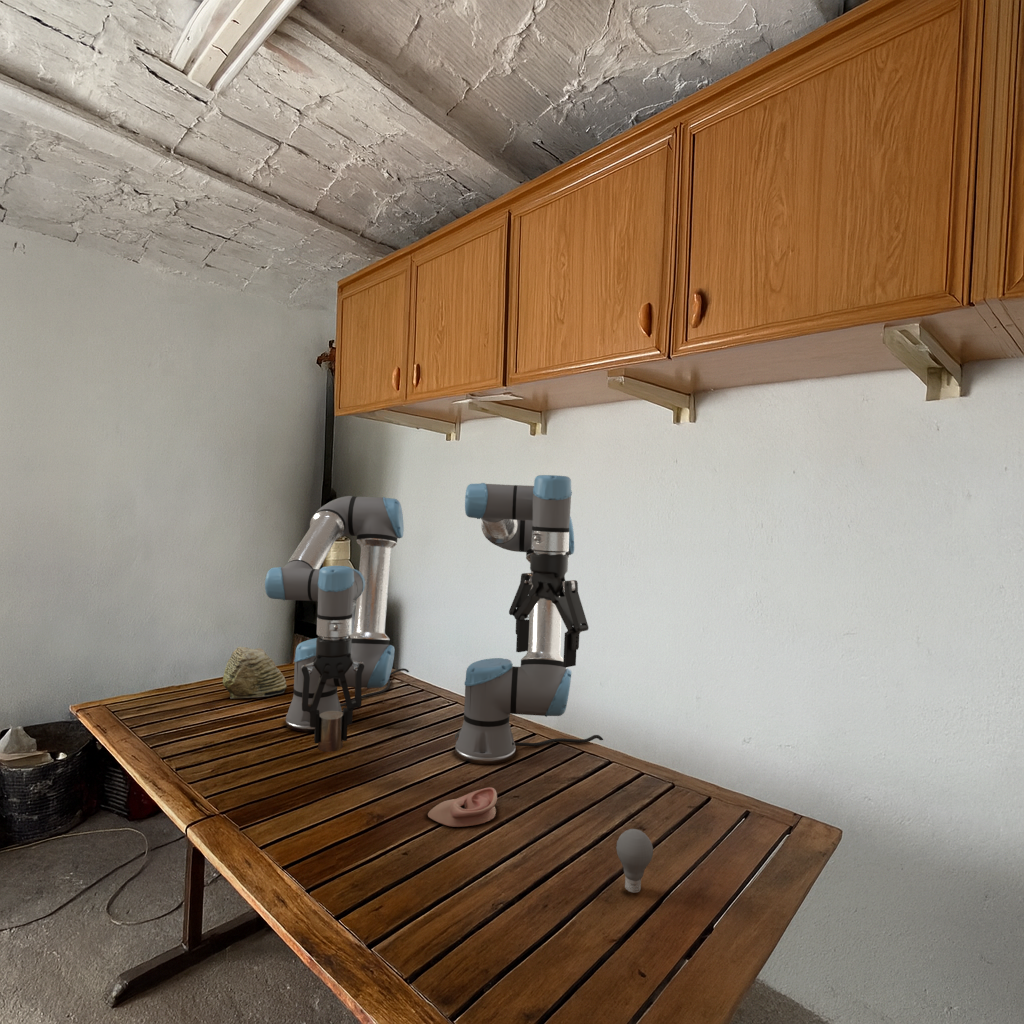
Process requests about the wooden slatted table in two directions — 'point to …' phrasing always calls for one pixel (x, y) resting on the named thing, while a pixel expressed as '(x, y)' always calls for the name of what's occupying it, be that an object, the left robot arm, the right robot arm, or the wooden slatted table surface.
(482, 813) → the anatomical model
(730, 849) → the wooden slatted table surface
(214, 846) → the wooden slatted table surface
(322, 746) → the canister
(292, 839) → the wooden slatted table surface
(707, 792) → the wooden slatted table surface
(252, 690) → the fossil
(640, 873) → the light bulb
